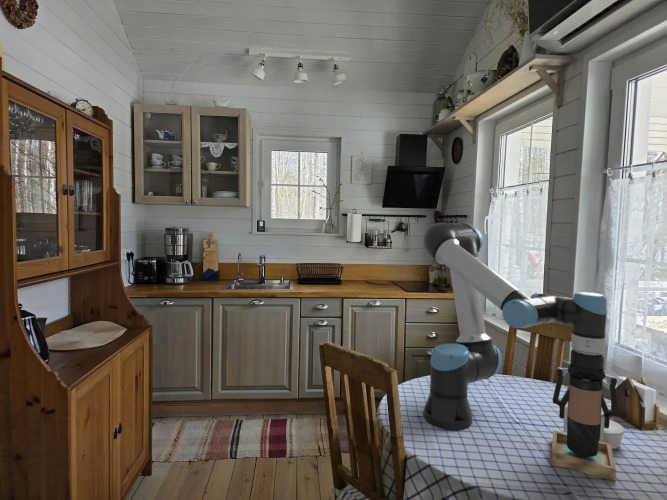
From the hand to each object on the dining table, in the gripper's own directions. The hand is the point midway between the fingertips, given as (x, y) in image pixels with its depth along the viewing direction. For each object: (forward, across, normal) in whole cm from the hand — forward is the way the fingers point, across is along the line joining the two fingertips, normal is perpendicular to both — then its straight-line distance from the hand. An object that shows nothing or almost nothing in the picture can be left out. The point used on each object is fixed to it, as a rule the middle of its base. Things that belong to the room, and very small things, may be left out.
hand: (582, 434), depth 109 cm
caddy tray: (+7, 0, 0) cm, 7 cm away
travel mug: (+4, 0, 0) cm, 4 cm away
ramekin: (+7, +5, +14) cm, 17 cm away
